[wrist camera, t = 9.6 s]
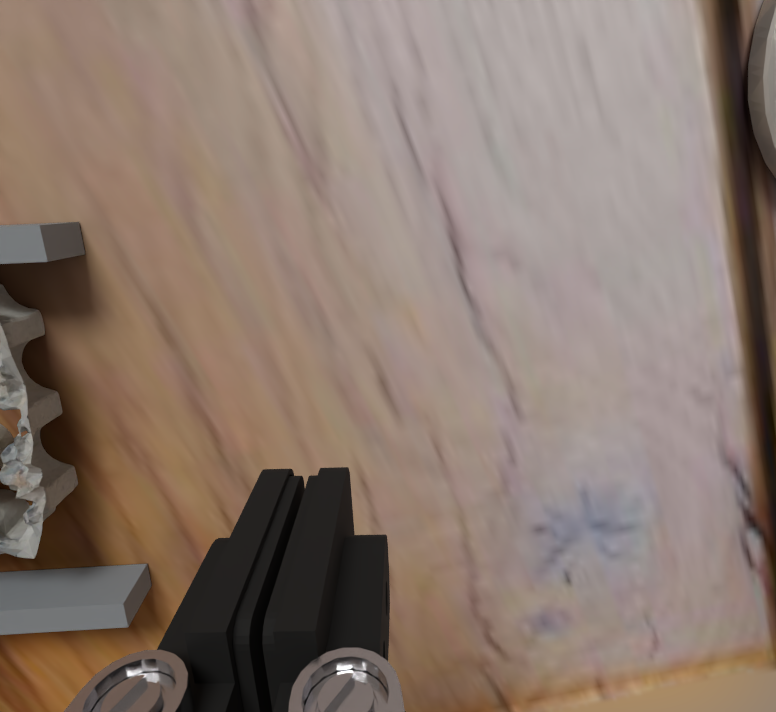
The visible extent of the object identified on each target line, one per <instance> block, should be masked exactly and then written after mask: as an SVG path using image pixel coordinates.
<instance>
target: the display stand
mask: <svg viewBox="0 0 776 712" xmlns="http://www.w3.org/2000/svg"><path fill="white" fill-rule="evenodd" d="M80 255H85V250H84V245H83V240H82V235H81V230H80V225H79V222H68V223H44V224H20V225H0V264H10V263H33V262H49V261H54V260H60V259H65V258H70V257H75V256H80ZM151 586H152V585H151V580H150V575H149V570H148V565H147V564H134V565H117V566H99V567H81V568H64V569H46V570H29V571H11V572H0V635H7V634H24V633H41V632H58V631H74V630H91V629H108V628H125V627H129V625H130V623H131V622H132V620H133V618H134V616H135V614H136V613H137V611H138V609H139V607H140V606H141V604H142V602H143V600H144V598H145V597H146V595H147V593H148V591H149V589H150V588H151Z"/></svg>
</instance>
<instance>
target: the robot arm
mask: <svg viewBox="0 0 776 712" xmlns="http://www.w3.org/2000/svg"><path fill="white" fill-rule="evenodd" d="M748 104H749V110H750V116H751V121H752V127H753V133H754V136H755V138H756V141H757V143H758V146H759V149H760V151H761V154H762V156H763V159H764V161H765V163H766V165H767V166H768V168H769V169H770V171H771V172H772V174H773V175H774V177H775V178H776V0H764V2H763V5H762V7H761V10H760V13H759V16H758V19H757V22H756V25H755V29H754V35H753V40H752V46H751V52H750V57H749V63H748ZM389 612H390V591H389V562H388V544H387V536H386V535H354V523H353V510H352V497H351V484H350V473H349V469H348V467H344V468H320V470H319V473H318V476H309V478H308V481H307V484H306V488H304V480H303V477H302V476H294V473H293V470H292V469H265V470H263V471H262V472H261V474H260V476H259V478H258V480H257V482H256V484H255V486H254V488H253V490H252V493H251V495H250V497H249V499H248V501H247V503H246V505H245V507H244V509H243V511H242V513H241V515H240V517H239V519H238V522H237V524H236V526H235V528H234V530H233V532H232V534H231V536H230V538H218V539H216V540H215V541H214V542H213V544H212V545H211V547H210V549H209V551H208V553H207V555H206V557H205V559H204V560H203V562H202V564H201V566H200V568H199V570H198V572H197V574H196V576H195V578H194V580H193V582H192V583H191V585H190V587H189V589H188V591H187V593H186V595H185V597H184V599H183V601H182V603H181V605H180V606H179V608H178V610H177V612H176V614H175V616H174V618H173V620H172V622H171V624H170V626H169V628H168V629H167V631H166V633H165V635H164V637H163V639H162V641H161V643H160V645H159V647H158V649H157V650H145V651H141V652H137V653H133V654H129V655H127V656H125V657H123V658H121V659H119V660H117V661H115V662H112V663H111V664H110V665H108V666H107V667H105V668H104V669H103V670H101V671H100V672H98V673H97V674H96V675H95V676H94V677H93V678H92V679H91V680H90V681H89V682H88V683H87V684H86V685H85V686H84V687H83V688H82V689H81V691H80V692H79V693H78V694H77V696H76V697H75V698H74V699H73V701H72V702H71V703H70V704H69V706H68V707H67V708H66V710H65V711H64V712H405V710H404V704H403V698H402V691H401V686H400V683H399V680H398V677H397V674H396V671H395V670H394V669H393V667H392V666H391V665H390V664H389V662H388V646H389Z"/></svg>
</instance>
